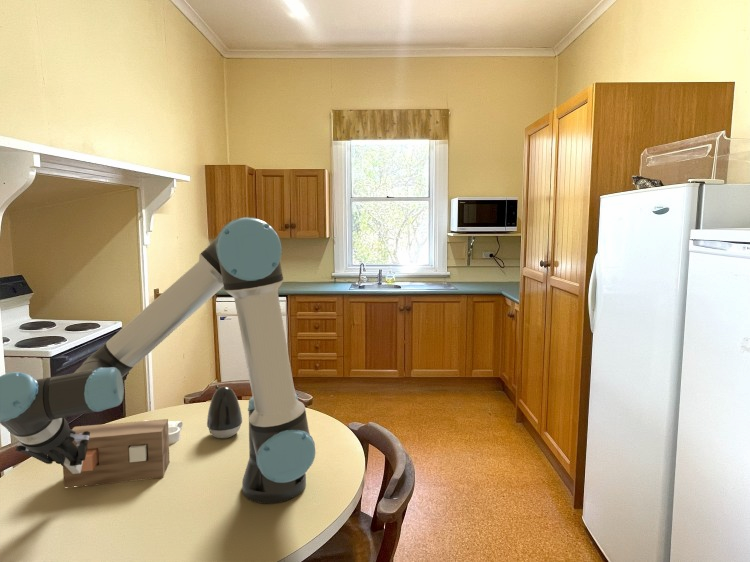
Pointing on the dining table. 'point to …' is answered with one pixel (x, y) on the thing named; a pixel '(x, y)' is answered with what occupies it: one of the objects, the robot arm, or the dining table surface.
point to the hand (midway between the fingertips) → (77, 467)
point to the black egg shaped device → (224, 413)
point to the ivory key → (138, 452)
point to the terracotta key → (90, 460)
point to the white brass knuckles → (174, 431)
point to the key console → (123, 452)
